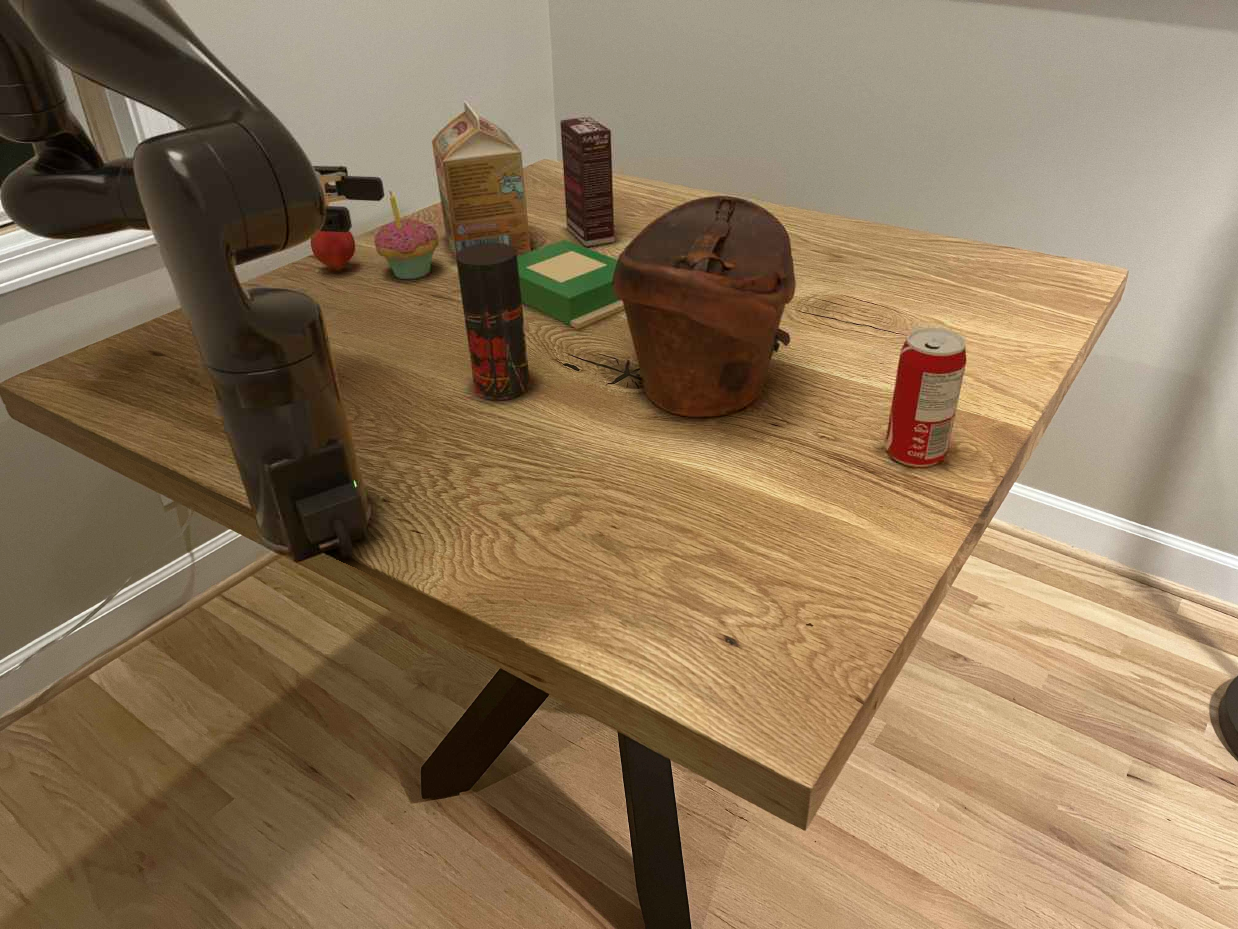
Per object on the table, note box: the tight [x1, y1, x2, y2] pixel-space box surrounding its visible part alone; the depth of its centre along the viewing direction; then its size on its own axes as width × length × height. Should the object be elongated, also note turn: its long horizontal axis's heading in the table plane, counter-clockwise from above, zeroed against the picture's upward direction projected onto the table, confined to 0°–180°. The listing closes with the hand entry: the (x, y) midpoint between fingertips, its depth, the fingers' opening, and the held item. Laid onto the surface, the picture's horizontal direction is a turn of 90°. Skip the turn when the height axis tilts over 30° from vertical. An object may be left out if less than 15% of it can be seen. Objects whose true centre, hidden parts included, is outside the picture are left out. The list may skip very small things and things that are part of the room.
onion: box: [310, 230, 356, 272], centre depth 123 cm, size 6×6×8 cm
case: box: [612, 195, 797, 418], centre depth 90 cm, size 18×20×18 cm
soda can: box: [884, 326, 967, 468], centre depth 81 cm, size 6×6×12 cm
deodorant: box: [455, 242, 531, 402], centre depth 93 cm, size 6×6×15 cm
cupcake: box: [374, 190, 440, 280], centre depth 121 cm, size 9×8×12 cm
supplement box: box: [559, 116, 615, 247], centre depth 129 cm, size 9×5×16 cm, turn 22°
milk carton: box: [431, 100, 532, 260], centre depth 126 cm, size 11×11×19 cm
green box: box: [517, 239, 625, 330], centre depth 116 cm, size 18×12×4 cm
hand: (366, 203), depth 87 cm, fingers open, 8 cm apart
